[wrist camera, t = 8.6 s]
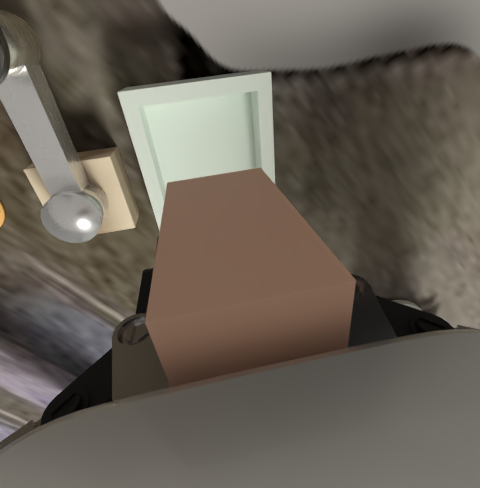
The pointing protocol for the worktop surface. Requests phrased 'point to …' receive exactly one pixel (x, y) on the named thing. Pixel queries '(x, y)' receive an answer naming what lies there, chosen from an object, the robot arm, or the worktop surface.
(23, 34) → the crank
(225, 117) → the tray
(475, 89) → the worktop surface
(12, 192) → the worktop surface
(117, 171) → the crank base
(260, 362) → the block
